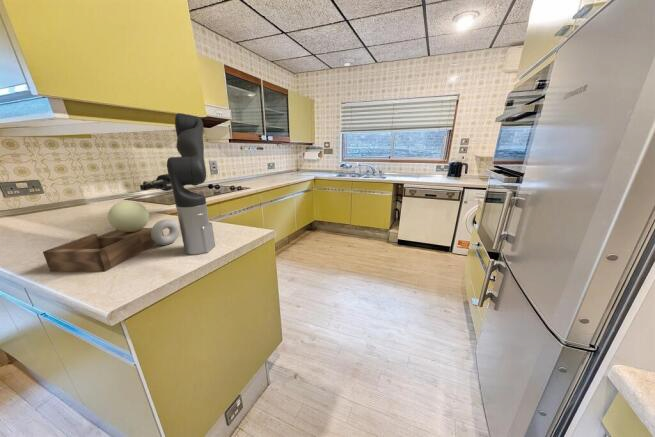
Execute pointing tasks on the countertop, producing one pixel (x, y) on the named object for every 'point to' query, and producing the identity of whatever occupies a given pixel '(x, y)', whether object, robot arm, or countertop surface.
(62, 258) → the wooden serving tray
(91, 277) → the countertop surface
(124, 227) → the melon
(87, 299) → the countertop surface
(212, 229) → the robot arm
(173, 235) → the donut
